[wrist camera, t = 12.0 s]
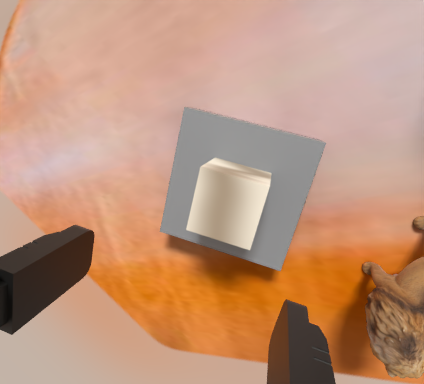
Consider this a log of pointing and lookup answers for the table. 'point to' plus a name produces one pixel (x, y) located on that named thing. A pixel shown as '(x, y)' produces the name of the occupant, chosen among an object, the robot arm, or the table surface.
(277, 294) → the table surface
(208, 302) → the table surface
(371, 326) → the lion figurine
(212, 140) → the base
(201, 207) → the wooden block
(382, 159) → the table surface
